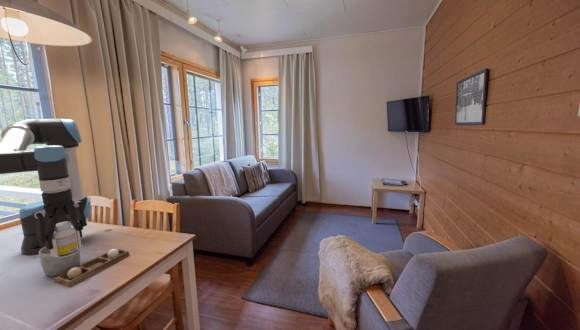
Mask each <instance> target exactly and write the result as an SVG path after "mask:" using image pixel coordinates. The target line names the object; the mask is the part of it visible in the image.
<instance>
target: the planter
mask: <svg viewBox="0 0 580 330" xmlns="http://www.w3.org/2000/svg"><path fill="white" fill-rule="evenodd" d="M38 256H39V260H40V265H41V268H42V270H43V272H44V273H45V275H46V276H49V277H57V276H59V275H61V274H63V273H65V272H67V271H69V270H70V269H71V268H74V267H78V266H80V263H81V251H80V249H79V250H78V252H77V253H75V254H73V255H71V256H68V257H64V258H58V257H52V256H51V253H50V250H49V249H47V248H46V247H44V248H42V249H41V250H40V251H39V254H38Z"/></svg>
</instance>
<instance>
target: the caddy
mask: <svg viewBox="0 0 580 330" xmlns="http://www.w3.org/2000/svg"><path fill="white" fill-rule="evenodd" d="M114 249H117V250H118V251H119V255H118V256H117V257H115V258H113V259H110V258H108V256H107V253H108V251H107V252H105V253H102V254H101V255H99V256H96V257H94V258H93V259H91V260H88V261H86V262H84V263H82V264H79V265H78V267H79V268H80V269H81V271H82V272H81V275H80V276H78V277H76V278H74V279H70V278H68V276H67V273H68V271H67V272H65V273H63V274H61V275H58V276H54V281H55V282H54V283H57V284H60V285H63V286H65V287H68V288H71V287H72V286H74V285H76V284H78V283H80V282H82V281H84V280H85V279H87V278H89V277H92V276H93V275H95V274H97V273H99V272H101V271H102V270H104V269H106V268H108V267H110V266H111V265H114V264H116V263H117V262H119V261H121V260H123V259H124V258H127V257H129V256H130V251H129V250H126V249H122V248H117V247H115V248H114Z"/></svg>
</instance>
